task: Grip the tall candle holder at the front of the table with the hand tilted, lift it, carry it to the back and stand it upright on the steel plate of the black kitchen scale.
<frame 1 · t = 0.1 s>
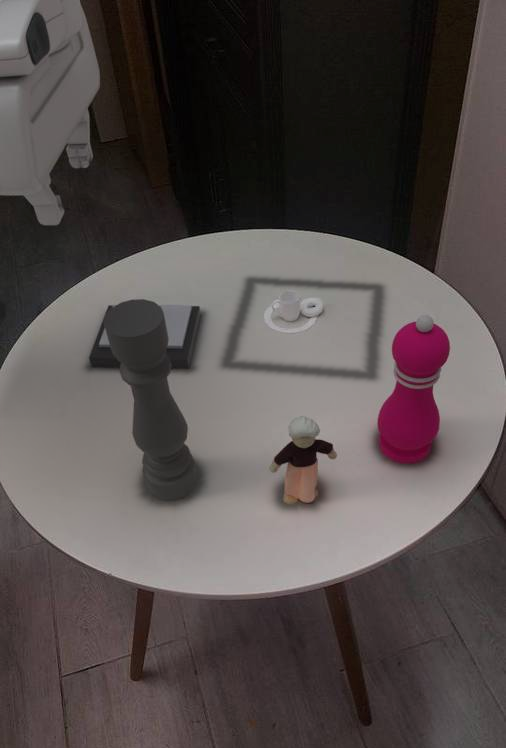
hand: (68, 191, 58), 36 cm above the table, tool pointing down, fingers open, 8 cm apart
scale: (148, 342, 101), on the table
pepper mill: (404, 447, 85), on the table
teacup and saucer: (306, 328, 101), on the table
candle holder: (172, 484, 83), on the table
grandmother figurine: (304, 495, 81), on the table
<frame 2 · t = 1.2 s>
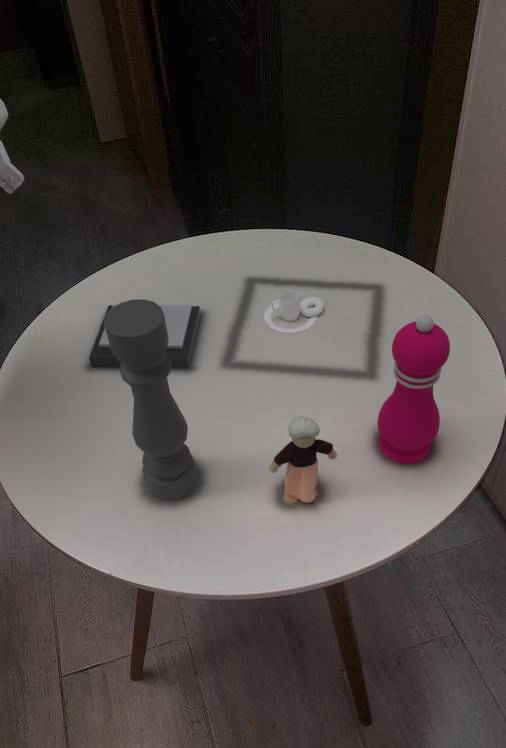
nothing on the table moved.
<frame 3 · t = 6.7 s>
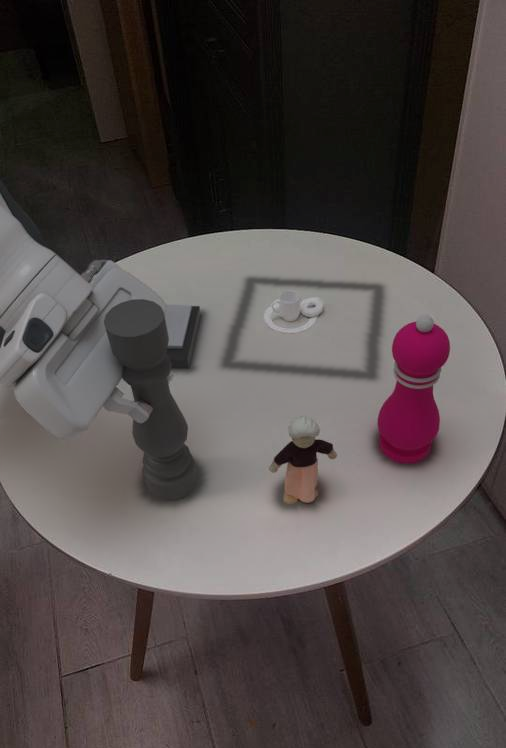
hand: (157, 399, 72), 14 cm above the table, tool tilted 45°, fingers closed on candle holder, 4 cm apart
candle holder: (172, 484, 83), on the table, touching gripper
everything else where it was.
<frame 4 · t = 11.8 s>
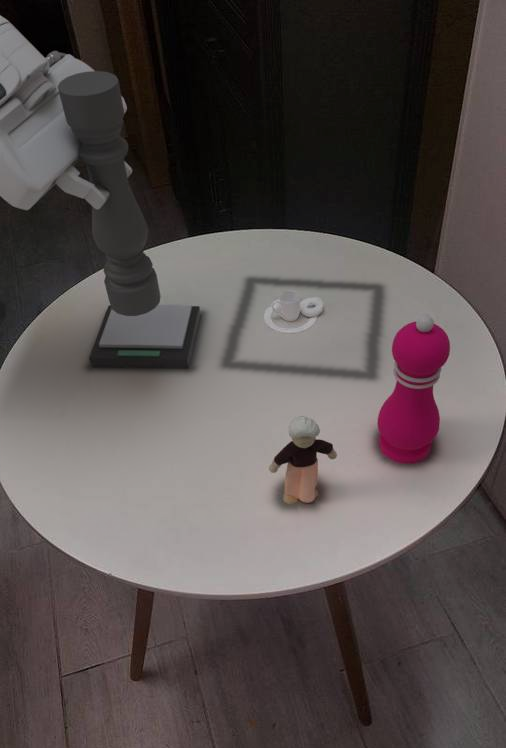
hand: (115, 190, 72), 29 cm above the table, tool tilted 45°, fingers closed on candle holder, 4 cm apart
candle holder: (135, 301, 83), point 14 cm above the table, touching gripper
everything else where it was.
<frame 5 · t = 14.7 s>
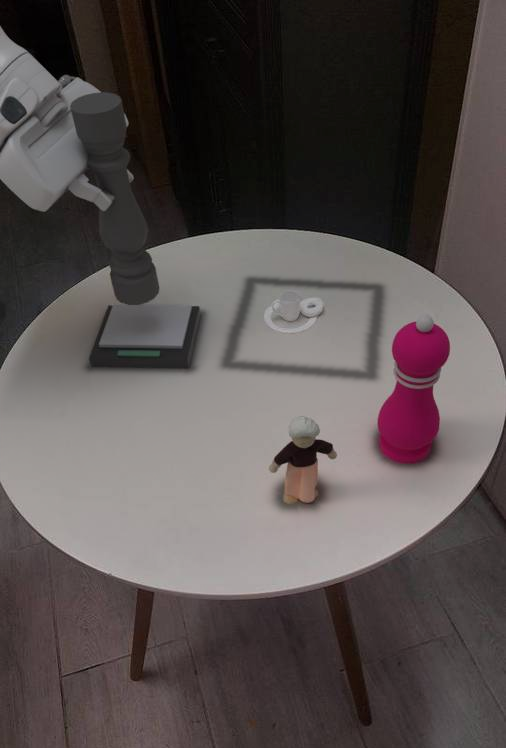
hand: (119, 194, 83), 23 cm above the table, tool tilted 45°, fingers closed on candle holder, 4 cm apart
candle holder: (137, 292, 94), point 9 cm above the table, touching gripper
everything else where it was.
when the fingers open (17 cm above the table, at t = 16.8 s): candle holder stays where it is, resting on scale.
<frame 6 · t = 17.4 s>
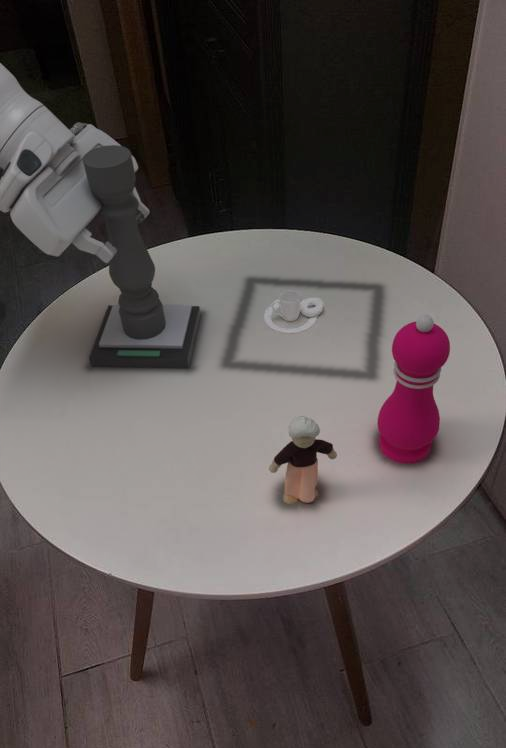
hand: (129, 237, 87), 18 cm above the table, tool tilted 45°, fingers open, 8 cm apart
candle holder: (144, 327, 99), point 3 cm above the table, touching scale
everything else where it was.
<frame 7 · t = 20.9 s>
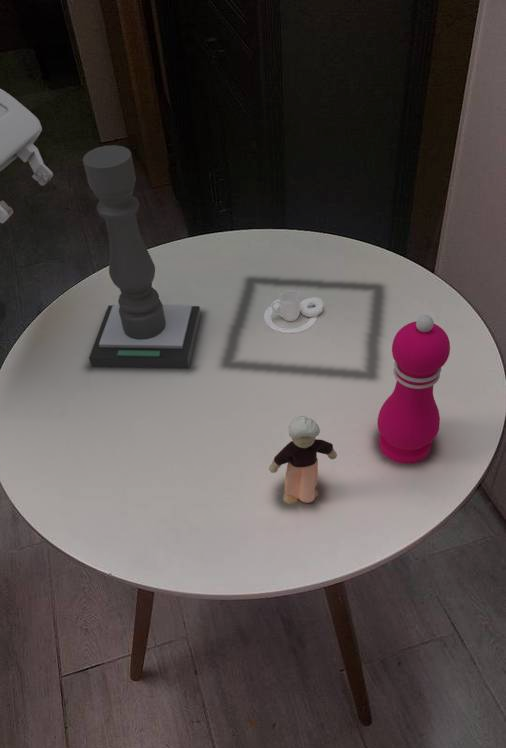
hand: (29, 198, 85), 22 cm above the table, tool tilted 45°, fingers open, 8 cm apart
nothing on the table moved.
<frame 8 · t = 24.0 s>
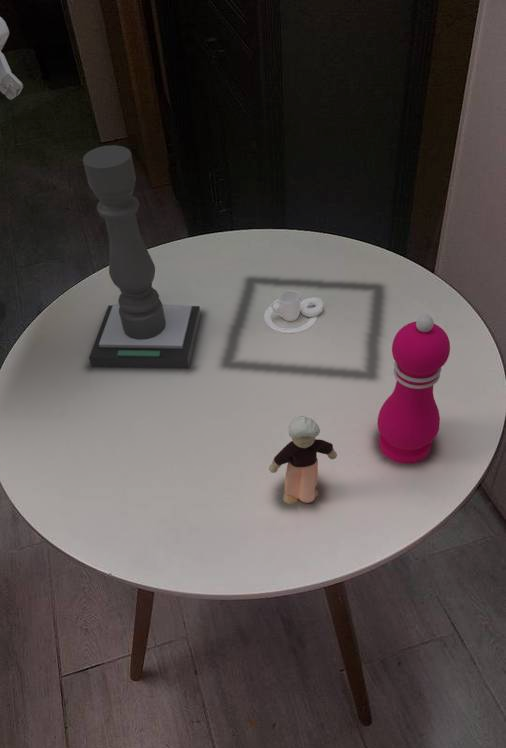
nothing on the table moved.
at the end: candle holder inside the target area on the scale (0.4 cm from its centre), point 2.6 cm above the scale's base; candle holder tilted 0°; the gripper is holding nothing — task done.
